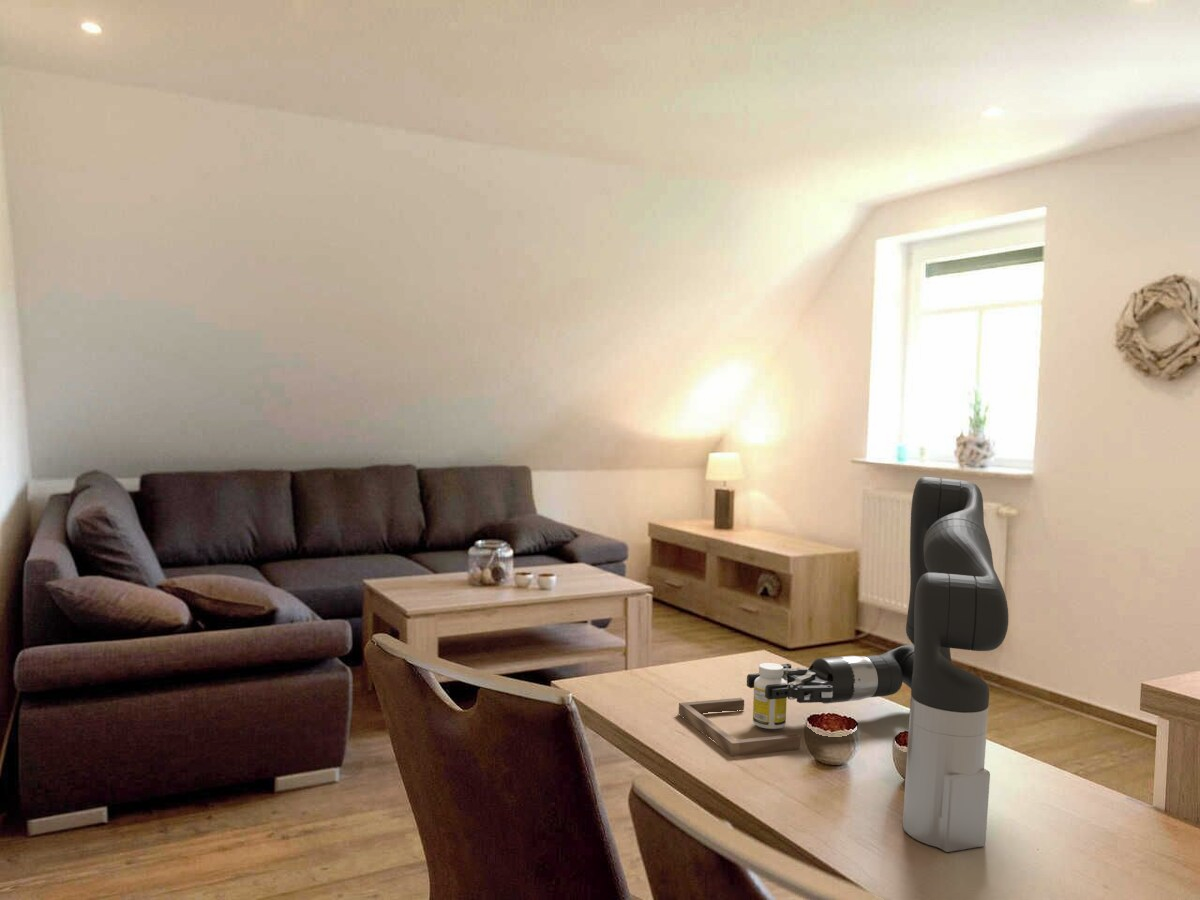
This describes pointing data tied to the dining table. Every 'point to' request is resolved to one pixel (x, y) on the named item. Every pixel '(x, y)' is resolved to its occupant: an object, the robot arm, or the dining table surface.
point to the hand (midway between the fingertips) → (757, 686)
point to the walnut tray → (725, 741)
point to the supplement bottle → (764, 709)
